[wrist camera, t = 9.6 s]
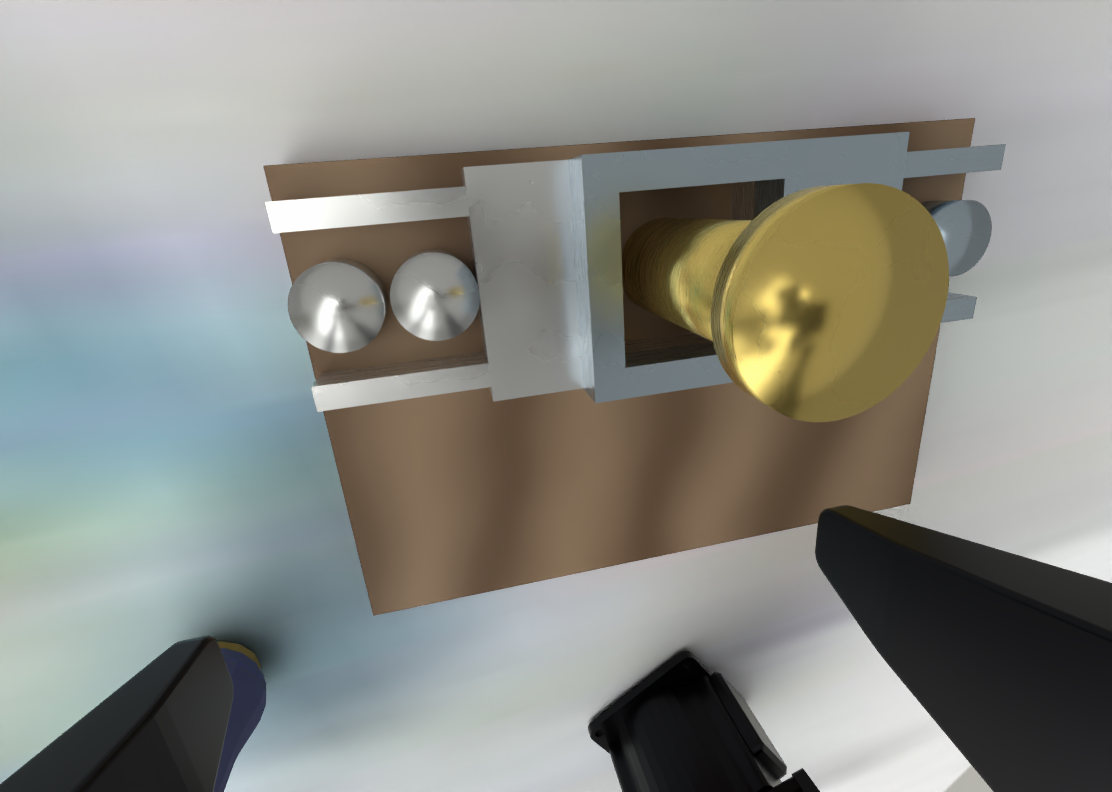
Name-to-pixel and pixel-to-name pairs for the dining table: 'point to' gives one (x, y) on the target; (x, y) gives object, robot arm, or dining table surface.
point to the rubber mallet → (240, 705)
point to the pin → (802, 293)
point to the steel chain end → (458, 288)
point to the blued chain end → (776, 177)
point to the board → (579, 413)
